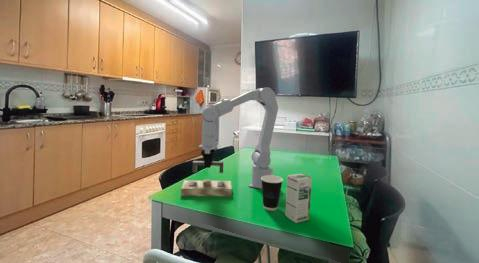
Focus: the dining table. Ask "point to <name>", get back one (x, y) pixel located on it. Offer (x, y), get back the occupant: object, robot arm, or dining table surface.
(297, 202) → the syrup box
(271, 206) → the dixie cup
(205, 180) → the display stand
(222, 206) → the dining table surface
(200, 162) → the grey long bar
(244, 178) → the dining table surface
